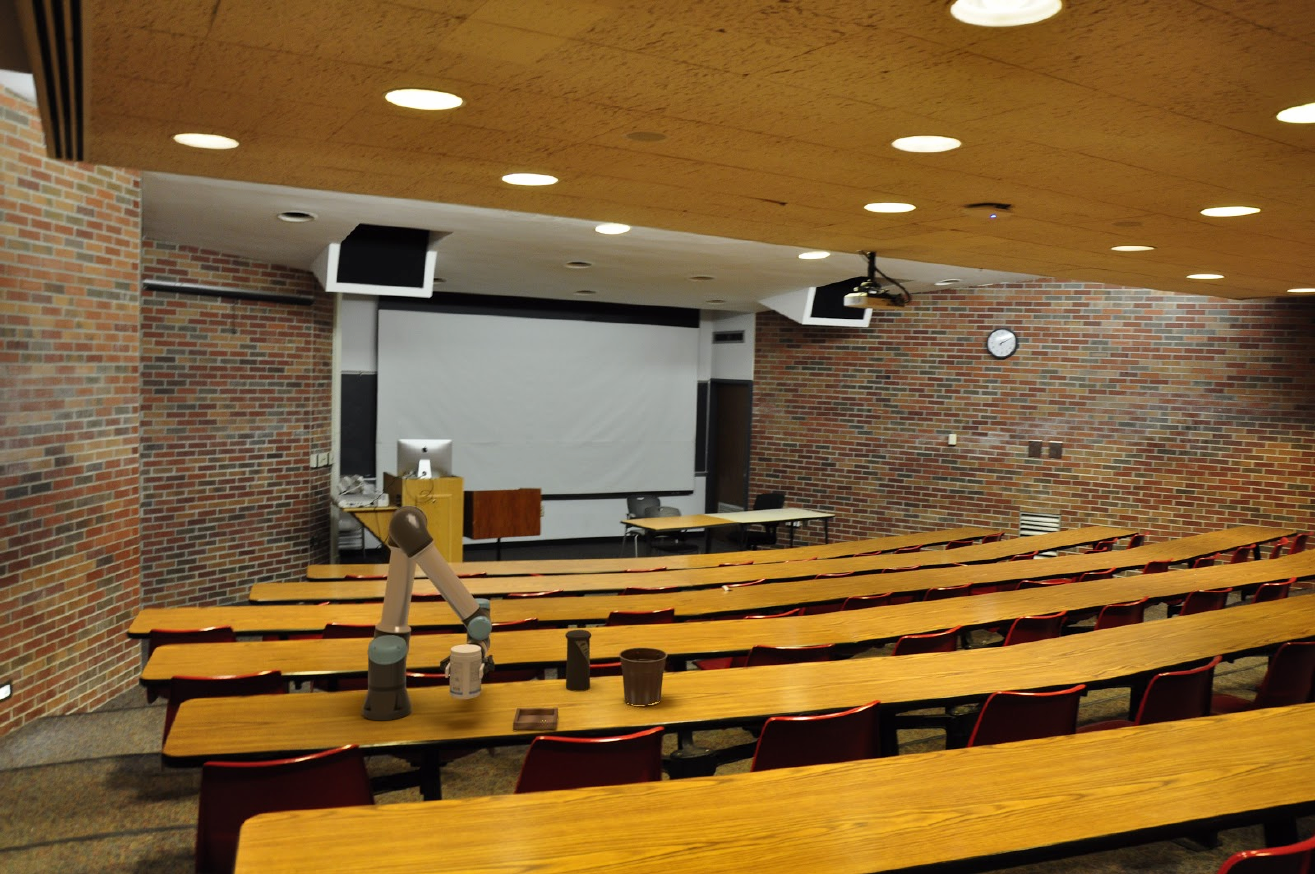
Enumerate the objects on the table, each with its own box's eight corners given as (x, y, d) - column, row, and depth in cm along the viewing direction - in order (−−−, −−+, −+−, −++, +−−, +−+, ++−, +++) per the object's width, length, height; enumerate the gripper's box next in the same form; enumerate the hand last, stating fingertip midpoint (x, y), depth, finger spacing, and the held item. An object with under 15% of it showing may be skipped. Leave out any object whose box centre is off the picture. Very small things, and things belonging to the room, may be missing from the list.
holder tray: (513, 730, 281) (513, 722, 281) (517, 716, 294) (517, 708, 294) (556, 730, 282) (556, 722, 282) (558, 715, 295) (558, 708, 295)
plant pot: (657, 712, 300) (658, 663, 299) (611, 706, 305) (611, 658, 304) (672, 697, 315) (673, 650, 315) (628, 691, 320) (628, 645, 320)
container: (586, 692, 319) (587, 635, 318) (561, 690, 321) (562, 633, 320) (593, 685, 327) (594, 629, 326) (569, 683, 329) (569, 627, 328)
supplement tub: (478, 689, 293) (479, 643, 292) (483, 698, 284) (484, 651, 283) (446, 691, 289) (448, 644, 289) (451, 701, 280) (452, 653, 280)
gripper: (507, 665, 305) (499, 686, 283) (439, 663, 304) (426, 685, 281) (508, 643, 305) (500, 662, 282) (440, 641, 303) (427, 660, 281)
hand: (463, 673), depth 282 cm, fingers closed on supplement tub, 9 cm apart
